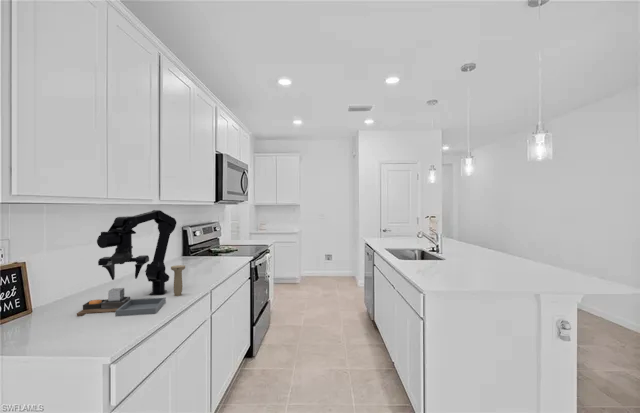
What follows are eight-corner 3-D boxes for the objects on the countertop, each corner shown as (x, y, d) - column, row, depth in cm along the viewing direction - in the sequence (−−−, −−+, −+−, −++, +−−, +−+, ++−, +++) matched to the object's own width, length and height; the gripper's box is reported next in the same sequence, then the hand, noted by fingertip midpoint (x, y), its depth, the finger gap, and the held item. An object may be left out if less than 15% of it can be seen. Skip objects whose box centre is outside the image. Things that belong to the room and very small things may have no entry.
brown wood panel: (95, 304, 137) (95, 296, 137) (133, 302, 140) (133, 294, 140) (76, 316, 122) (76, 307, 122) (120, 313, 125) (120, 304, 125)
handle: (171, 295, 150) (171, 265, 150) (185, 294, 153) (185, 265, 153) (170, 298, 146) (170, 267, 146) (184, 297, 148) (185, 266, 148)
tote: (129, 306, 134) (129, 299, 134) (165, 304, 138) (165, 297, 138) (115, 318, 120) (115, 310, 120) (155, 315, 123) (155, 308, 123)
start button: (92, 305, 132) (92, 299, 132) (103, 304, 133) (103, 299, 133) (86, 308, 127) (86, 303, 127) (98, 308, 128) (98, 302, 128)
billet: (112, 304, 133) (113, 288, 133) (124, 303, 134) (124, 287, 134) (108, 307, 129) (108, 291, 129) (119, 306, 130) (120, 290, 130)
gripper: (91, 248, 126) (92, 285, 126) (140, 246, 130) (141, 282, 131) (103, 244, 137) (104, 278, 137) (149, 243, 141) (149, 276, 141)
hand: (124, 279), depth 136 cm, fingers open, 9 cm apart
